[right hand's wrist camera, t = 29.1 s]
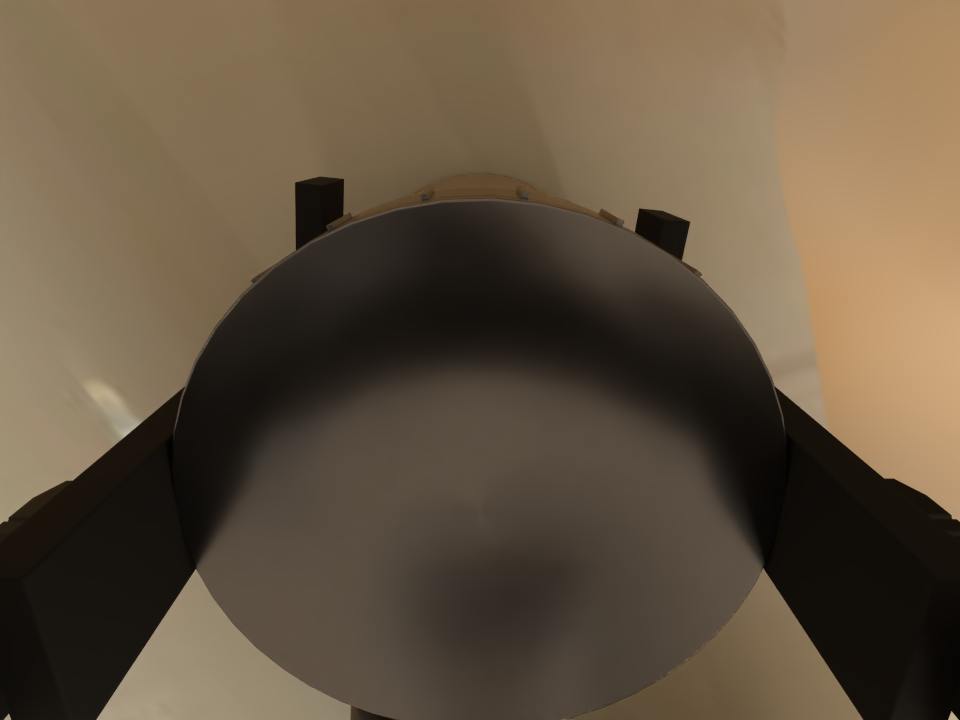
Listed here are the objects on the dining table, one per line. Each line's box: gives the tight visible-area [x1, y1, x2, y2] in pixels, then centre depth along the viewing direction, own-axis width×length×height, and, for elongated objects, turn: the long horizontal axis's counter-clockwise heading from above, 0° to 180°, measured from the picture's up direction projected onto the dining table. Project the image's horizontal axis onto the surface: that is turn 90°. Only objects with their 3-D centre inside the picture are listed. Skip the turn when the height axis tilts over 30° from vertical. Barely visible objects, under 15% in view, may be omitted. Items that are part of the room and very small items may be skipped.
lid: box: [171, 185, 788, 720], centre depth 11 cm, size 11×11×2 cm
